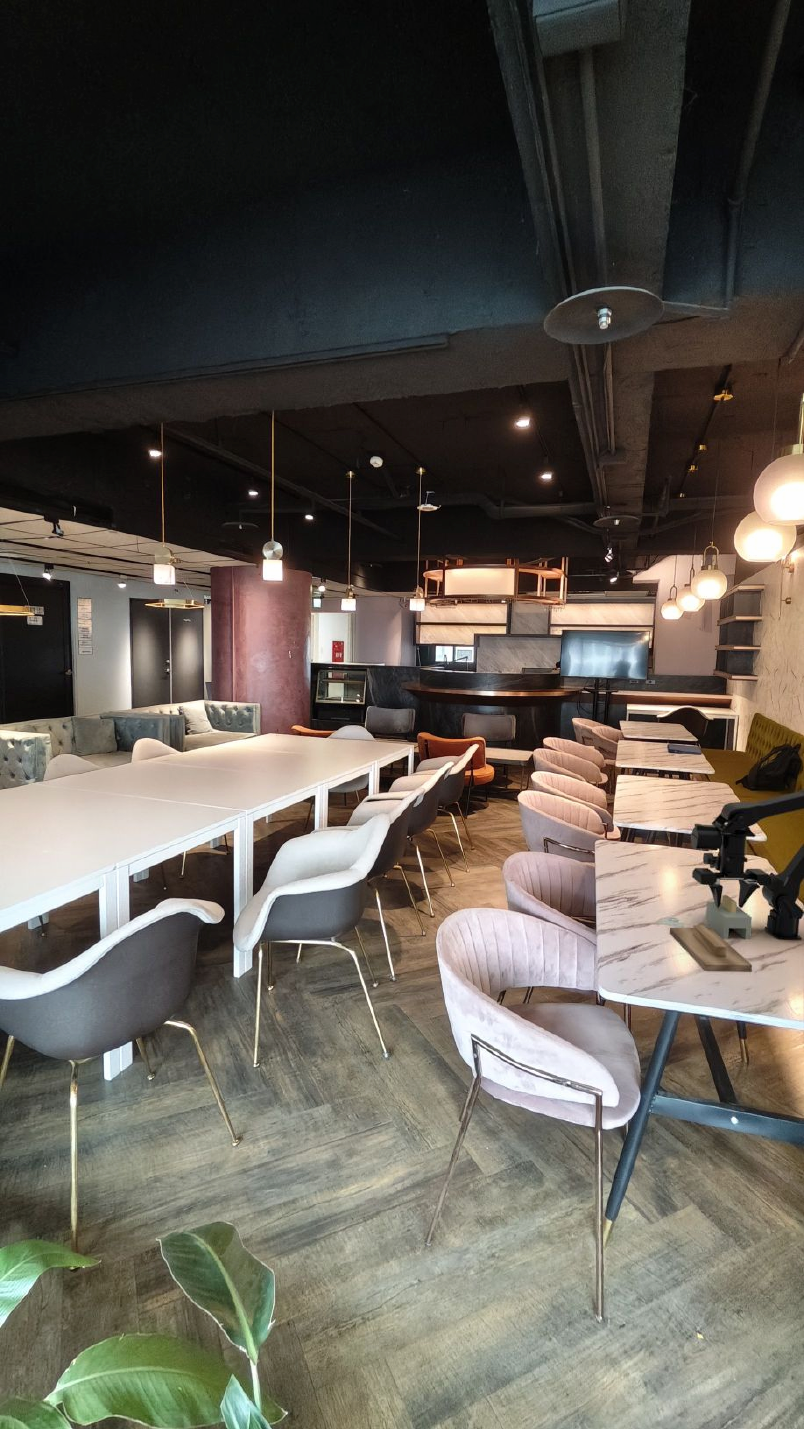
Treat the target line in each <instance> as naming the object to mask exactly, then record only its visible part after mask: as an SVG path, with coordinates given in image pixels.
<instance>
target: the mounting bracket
mask: <svg viewBox="0 0 804 1429" xmlns="http://www.w3.org/2000/svg"><path fill="white" fill-rule="evenodd" d="M659 923H660V924H662V925H664V926H670V927H672V928H684V925H685V923H684V922H680V920H679V918H677V917H674V916H669V917H667V918H664V917H661V919H660V921H659Z"/></svg>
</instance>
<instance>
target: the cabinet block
mask: <svg viewBox="0 0 804 1429" xmlns="http://www.w3.org/2000/svg"><path fill="white" fill-rule="evenodd" d="M737 903H738V902H737V901H736V900H734V899H733V898H732V897H730V896H728V895H727V894H722V897H721V903H720V907H719V908H717V907H716V905H715V901H707V902H706V909H705V910H706V911H705V924H707V926H708V927H709V928H711V929H712V930H714V931H715V932H716V933H717V934H718V935H719V936H720V937H721V938H722V939H724V940H728V939H729V931H730V930H729V929H733V930H734V931H735V932H736V933H737V934H739V936H741V937H743V938H744V940H750V939H751V932H752V931H751V930H752V920H753V919H752V918H753V917H752V916H750V914H748V913H746V912H745V911H744V910H743V909H742V908H740V907H739V906H737V905H738V904H737Z"/></svg>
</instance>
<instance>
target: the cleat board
mask: <svg viewBox="0 0 804 1429" xmlns="http://www.w3.org/2000/svg"><path fill="white" fill-rule="evenodd" d="M692 926H693V927H683V928H678V927H669V934H670V935H671V936H672V937H673V938H674V939H675V940H676V941H677V942H678V944H680V945H681V947H682V948H683V949H684V950H685V951H686V952H687V953H688V954H689V955H690V956H691V957H692V958H693V959H694V960H695V962H696V963H698V965H699V966H701V968H702V969H703V970H704V971H705V972H706V971H707V972H708V971H710V972H714V971H715V972H752V969H753V965H752V963H751V962H749V961H748V960H747V959H746V958H744V956H743V955H741V954H740V953H739V952H738V951H737V950H736V949H735V948H734V947H733V946H732V945H730V944H729V943H728V942H727V941H726V939H723V938H722V937H721V936H720V935H719V934H718V933H717V932H715V931H714V930H713V929H712V928H711V927H705V926H704V925H701V924H700V925H699V924H697V925H696V924H695V925H692Z"/></svg>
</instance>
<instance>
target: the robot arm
mask: <svg viewBox="0 0 804 1429" xmlns="http://www.w3.org/2000/svg"><path fill="white" fill-rule="evenodd" d="M801 810H804V789H802V790H799V791H795V792H792V793H788V794H784V795H780V796H775V797H772V798H768V799H764V800H759V801H755V802H754V801H753V802H751V801H738V802H737V801H736V802H728V803H726V804H724V805H723V807H722V809H721V810H720V813H719V814H718V815H717V817H716V818H715V819H714V820H713V821H712V822H711V824H701V823H695V824H694V827H693V828H692V830H691V833H690V845H691V848H692V849H693V850H701V851H718V853H717V855H716V856H715V855H714V853H713V852H704V853H703V856H702V860H703V865H709V868H707V867H695V868H693V870H692V872H691V873H692V875H691V878H693V879H694V880H695V881H696V882H698V884H700V885H702V886H709V889H710V892H711V895H712V898H713V902H715V905H716V907H717V908H719V907H720V903H721V902H722V896H723V888H724V887H723V885H722V884H721V880H722V881H738V883H739V892H738V893H739V894H738V907H739V908H740V909H743V907H744V906H745V904H746V903H747V901H749V899H750V897H752V895H753V893H754V892H756V890H758V889H761V893H762V897H763V898H764V899H765V900H766V901H767V904H768V906H769V907H771V909H769V914H767V919H766V921H767V923H766V926H764V930H765V931H767V932H768V933H770V934H771V935H772V936H773V937H774V938H776V939H777V940H802V939H803V938H802V936H801V935H800V934H799V928H800V920H801V919H802V918H803V916H804V910H803V908H801V907H800V906H799V904H797V903H796V902H797V900H798V898H799V897H800V896H799V895H800V890H801V884H802V882H803V881H804V843H803V844H802V845H801V846H800V848H799V849H798V851H797V852H796V853H795V854H794V856H793V857H792V858H791V860H790V861H789V863H788V864H787V865H786V867H785V868H784V870H783V871H781V872H779V873H778V874H775V873H774V872H770V873H767V872H765V871H764V870H763V869H761V868H746V870H745V863H748V858H747V857H746V847H747V846H746V845H747V838H755V837H756V834H755V833H754V832H753V831H752V830H751V828H750V827H752V826H754V825H755V824H756V825H757V823H759V822H760V821H761V820H763V819H766V818H770V817H774V816H778V815H784V814H787V813H791V812H796V811H801ZM719 850H720V851H719ZM711 869H714V870H715V872H713V871H712V870H711ZM717 871H718V872H717ZM761 886H762V888H761Z"/></svg>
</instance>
